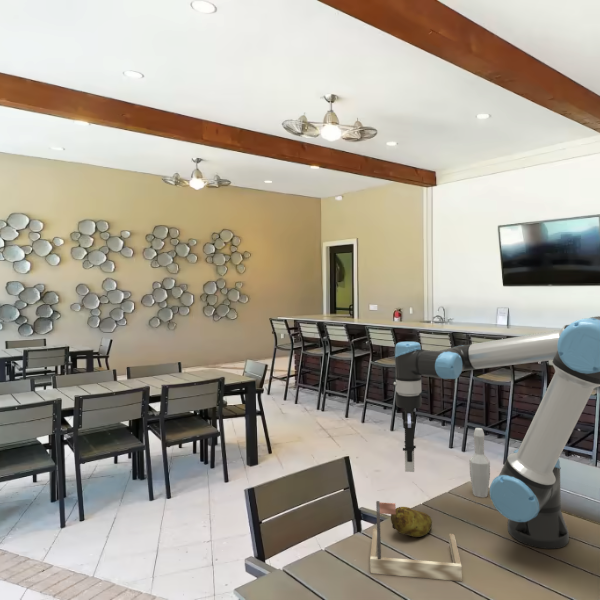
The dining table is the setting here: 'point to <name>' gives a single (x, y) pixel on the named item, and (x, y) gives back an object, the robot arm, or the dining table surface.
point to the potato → (411, 522)
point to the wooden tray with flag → (406, 565)
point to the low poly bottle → (479, 466)
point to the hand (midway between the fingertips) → (409, 470)
